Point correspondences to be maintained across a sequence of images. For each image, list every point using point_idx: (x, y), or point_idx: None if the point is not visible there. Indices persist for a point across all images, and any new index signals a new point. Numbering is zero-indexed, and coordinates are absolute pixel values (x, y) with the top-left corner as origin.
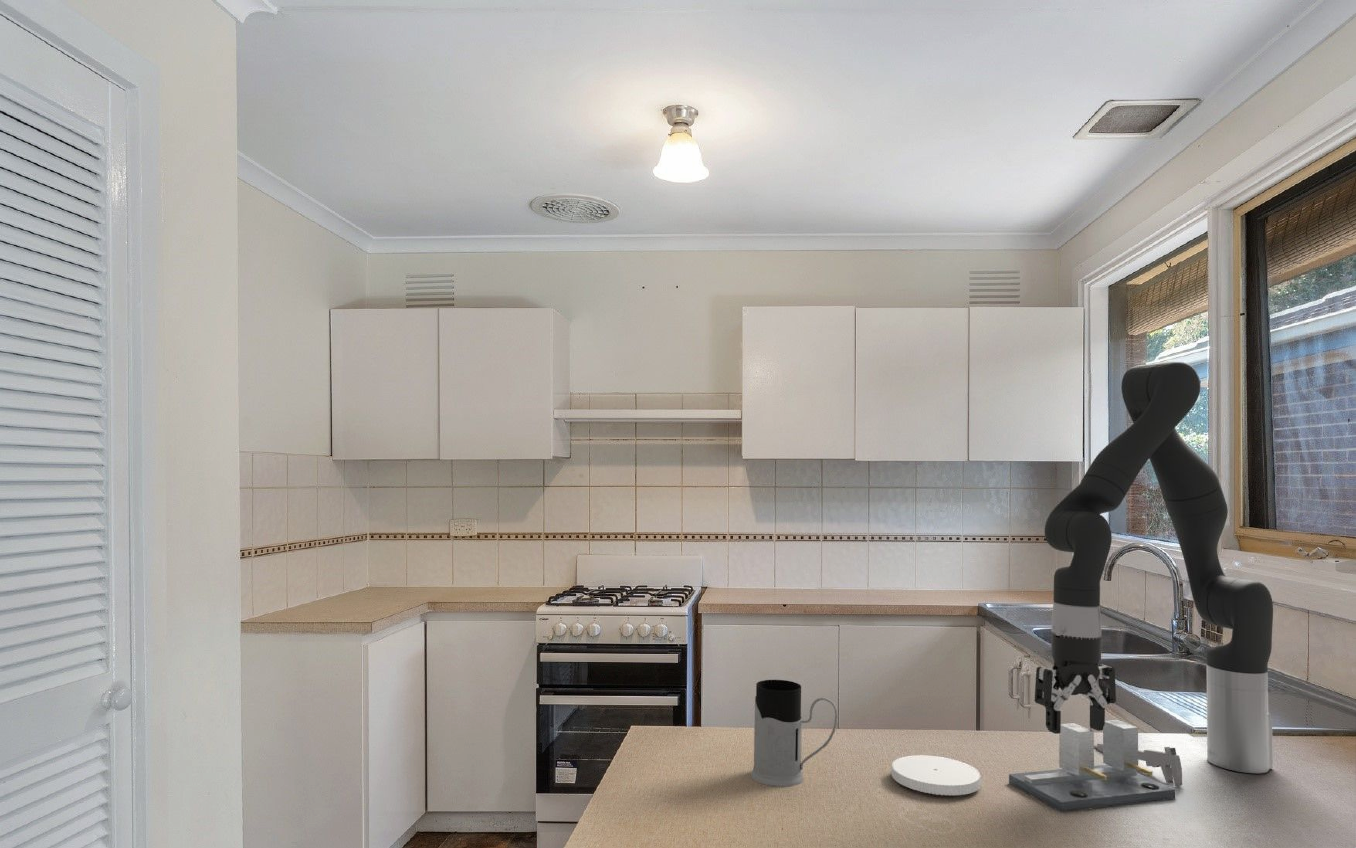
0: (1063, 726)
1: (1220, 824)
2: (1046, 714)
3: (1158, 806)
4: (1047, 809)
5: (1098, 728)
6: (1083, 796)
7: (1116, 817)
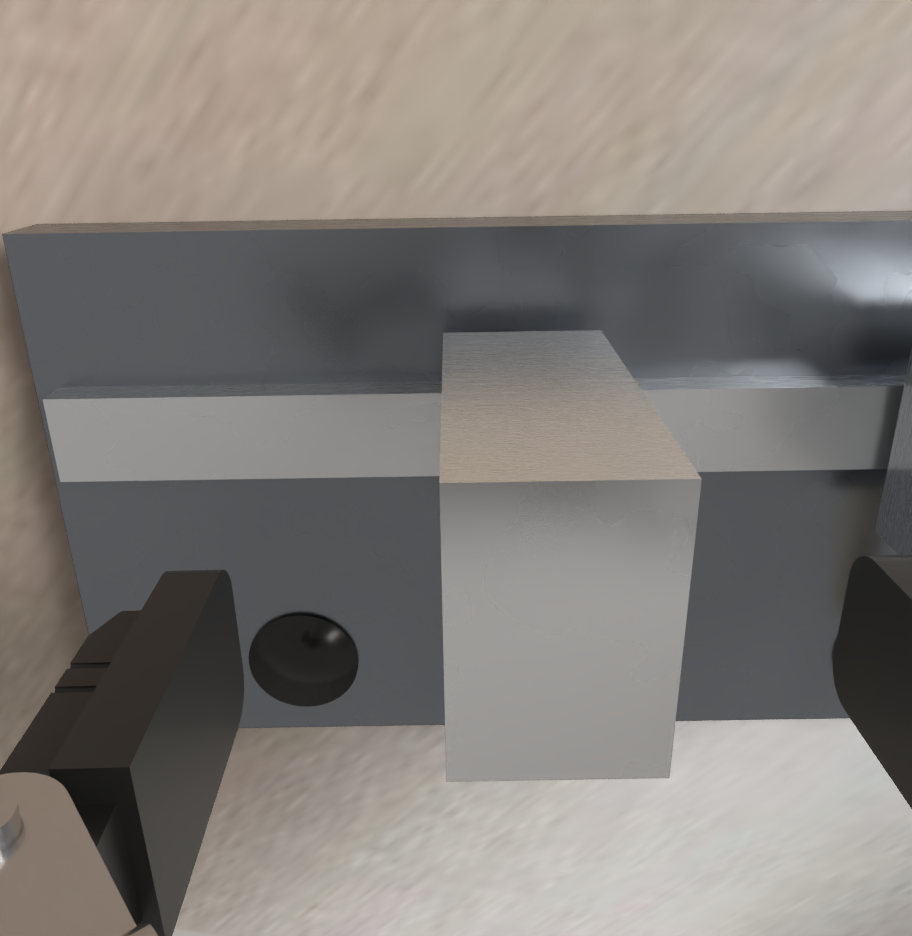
0: (442, 554)
1: (840, 927)
2: (28, 745)
3: (757, 730)
4: (71, 645)
5: (845, 686)
6: (301, 701)
7: (396, 789)
